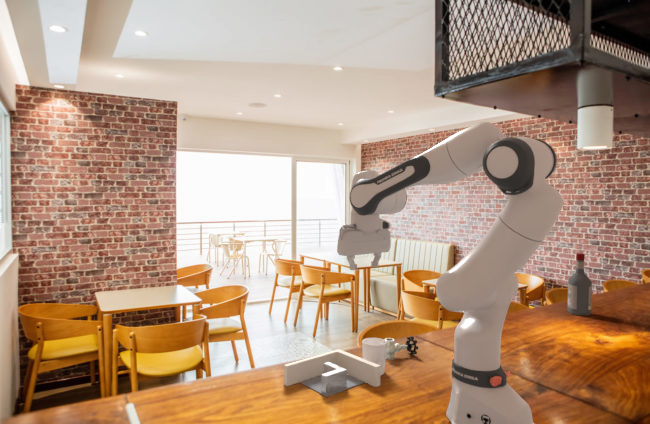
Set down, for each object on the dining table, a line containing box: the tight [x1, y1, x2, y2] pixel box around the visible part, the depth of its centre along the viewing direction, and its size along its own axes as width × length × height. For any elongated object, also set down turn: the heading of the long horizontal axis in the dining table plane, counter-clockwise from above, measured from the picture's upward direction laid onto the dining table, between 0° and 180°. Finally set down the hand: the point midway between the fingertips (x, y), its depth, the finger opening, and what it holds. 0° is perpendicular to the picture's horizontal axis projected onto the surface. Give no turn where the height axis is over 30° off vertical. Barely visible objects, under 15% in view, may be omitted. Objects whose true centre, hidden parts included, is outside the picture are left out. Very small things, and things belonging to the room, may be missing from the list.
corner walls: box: [283, 348, 382, 388], centre depth 130 cm, size 18×22×6 cm
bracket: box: [320, 362, 347, 394], centre depth 128 cm, size 8×8×5 cm
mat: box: [300, 375, 365, 398], centre depth 131 cm, size 12×15×1 cm
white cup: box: [361, 337, 387, 376], centre depth 140 cm, size 8×8×10 cm
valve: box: [384, 335, 419, 361], centre depth 154 cm, size 7×7×12 cm
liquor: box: [566, 252, 593, 317], centre depth 218 cm, size 9×9×30 cm
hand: (364, 268), depth 134 cm, fingers open, 8 cm apart
